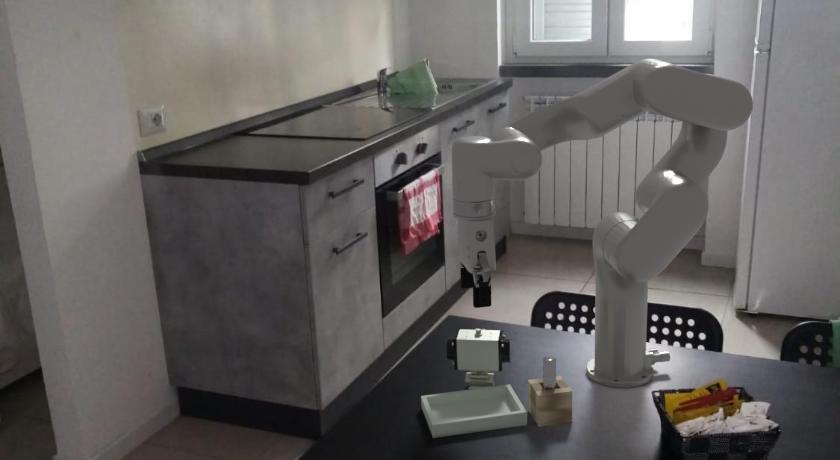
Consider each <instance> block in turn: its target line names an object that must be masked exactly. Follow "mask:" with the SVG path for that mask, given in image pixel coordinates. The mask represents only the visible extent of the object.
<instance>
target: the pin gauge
mask: <svg viewBox="0 0 840 460" xmlns="http://www.w3.org/2000/svg"><path fill="white" fill-rule="evenodd" d="M542 372H543V373H542V375H543V377H542V378H543V390H544V391H545V390H552V389H556V376H557V359H556V358H555V357H554V356H545V357H543V359H542Z"/></svg>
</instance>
